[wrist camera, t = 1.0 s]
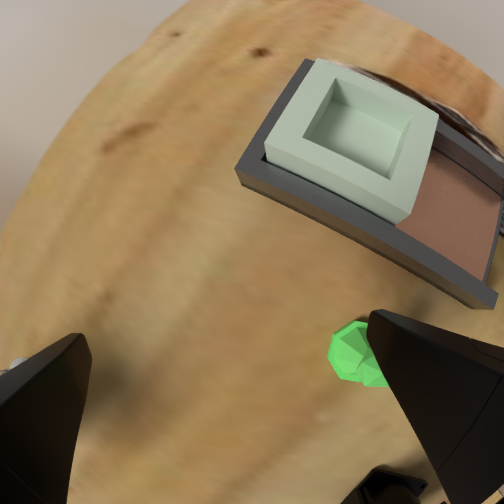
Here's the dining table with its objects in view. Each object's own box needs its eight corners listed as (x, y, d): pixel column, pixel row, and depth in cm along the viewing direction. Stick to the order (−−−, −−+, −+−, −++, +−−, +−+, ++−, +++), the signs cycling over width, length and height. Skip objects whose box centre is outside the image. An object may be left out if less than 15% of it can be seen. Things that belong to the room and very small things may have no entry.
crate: (418, 141, 19) (438, 114, 15) (387, 230, 18) (410, 214, 14) (314, 91, 20) (317, 58, 16) (268, 170, 20) (264, 142, 16)
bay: (501, 191, 18) (520, 180, 15) (471, 309, 17) (493, 309, 14) (304, 81, 21) (305, 58, 19) (241, 185, 21) (234, 168, 18)
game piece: (397, 340, 18) (436, 355, 12) (361, 390, 18) (386, 424, 12) (351, 307, 19) (377, 312, 13) (313, 359, 18) (324, 385, 13)
